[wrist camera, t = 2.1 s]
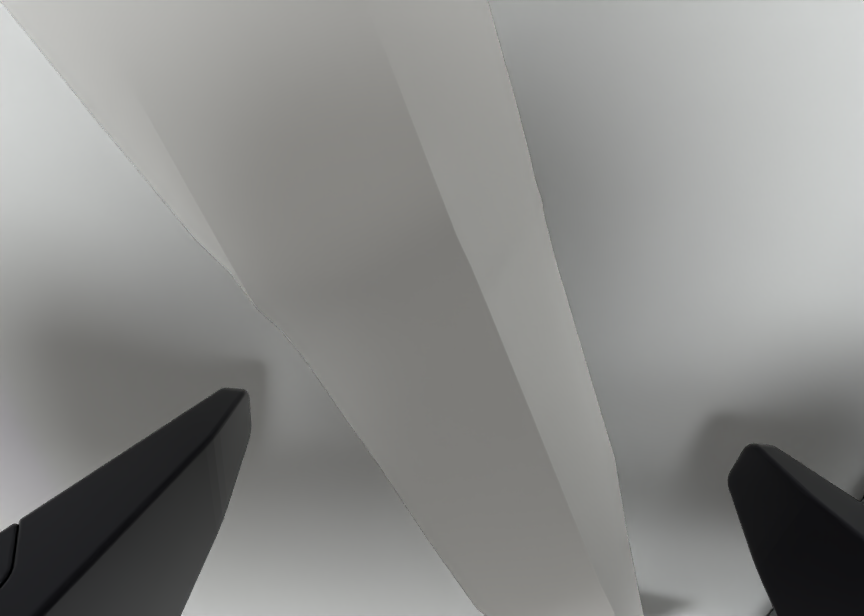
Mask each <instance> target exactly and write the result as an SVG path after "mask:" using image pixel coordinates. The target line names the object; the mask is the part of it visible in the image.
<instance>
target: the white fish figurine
mask: <svg viewBox="0 0 864 616" xmlns="http://www.w3.org/2000/svg"><path fill="white" fill-rule="evenodd" d="M0 1H1V3H2V4H3V5H4V6H5V8H6V9H7V10H8V11H9V13H10V14H11V15H12V16H13V18H14V19H15V20H16V21H17V23H18V24H19V25H20V26H21V28H22V29H23V30H24V31H25V33H26V34H27V35H28V36H29V37H30V39H31V40H32V41H33V42H34V44H35V45H36V46H37V47H38V49H39V50H40V51H41V52H42V54H43V55H44V56H45V57H46V59H47V60H48V61H49V62H50V64H51V65H52V66H53V67H54V69H55V70H56V71H57V72H58V74H59V75H60V76H61V77H62V79H63V80H64V81H65V82H66V84H67V85H68V86H69V87H70V88H71V90H72V91H73V92H74V93H75V95H76V96H77V97H78V98H79V100H80V101H81V102H82V103H83V105H84V106H85V107H86V108H87V110H88V111H89V112H90V113H91V115H92V116H93V117H94V118H95V119H96V121H97V122H98V123H99V124H100V126H101V127H102V128H103V129H104V130H105V132H106V133H107V134H108V135H109V136H110V138H111V139H112V140H113V141H114V142H115V144H116V145H117V146H118V147H119V148H120V150H121V151H122V152H123V153H124V154H125V156H126V157H127V158H128V159H129V160H130V162H131V163H132V164H133V165H134V166H135V168H136V169H137V170H138V171H139V173H140V174H141V175H142V176H143V177H144V179H145V180H146V181H147V182H148V183H149V185H150V186H151V187H152V188H153V189H154V191H155V192H156V193H157V194H158V195H159V197H160V198H161V199H162V200H163V201H164V203H165V204H166V205H167V206H168V207H169V209H170V210H171V211H172V212H173V214H174V215H175V216H176V217H177V218H178V220H179V221H180V222H181V223H182V224H183V226H184V227H185V228H186V229H187V230H188V232H189V233H190V234H191V235H192V236H193V238H194V239H195V240H196V241H197V242H198V243H199V244H200V245H201V246H202V247H203V248H204V249H205V250H207V251H208V252H209V253H210V254H211V255H212V256H213V257H214V258H215V259H216V260H217V261H218V262H219V263H220V264H221V265H222V266H223V267H224V268H225V269H226V270H227V271H228V272H230V273H231V275H232V276H233V278H234V279H235V280H236V282H237V283H238V284H239V286H240V287H241V288H242V290H243V291H244V292H245V294H246V295H247V296H248V298H249V299H250V300H251V302H252V303H253V304H254V306H255V307H256V308H257V309H258V310H259V311H260V312H261V313H262V314H263V315H264V316H265V317H266V318H268V319H269V320H270V321H271V322H272V323H273V324H274V325H275V326H276V327H278V328H279V329H280V330H281V332H282V333H283V334H284V335H285V336H286V338H287V339H288V340H289V341H290V342H291V343H292V345H293V346H294V347H295V348H296V349H297V351H298V352H299V353H300V355H301V356H302V357H303V359H304V360H305V361H306V363H307V364H308V365H309V367H310V368H311V369H312V371H313V372H314V374H315V375H316V377H317V378H318V380H319V381H320V382H321V384H322V385H323V387H324V388H325V390H326V391H327V393H328V394H329V396H330V397H331V398H332V400H333V401H334V403H335V404H336V406H337V407H338V409H339V410H340V412H341V413H342V414H343V416H344V417H345V419H346V420H347V422H348V423H349V425H350V426H351V427H352V429H353V430H354V432H355V433H356V434H357V436H358V437H359V439H360V440H361V441H362V443H363V444H364V446H365V447H366V448H367V450H368V451H369V452H370V454H371V455H372V457H373V458H374V459H375V461H376V462H377V464H378V465H379V467H380V468H381V470H382V471H383V473H384V474H385V476H386V477H387V479H388V480H389V482H390V483H391V485H392V486H393V488H394V489H395V491H396V492H397V494H398V495H399V497H400V498H401V500H402V501H403V503H404V504H405V506H406V507H407V509H408V511H409V512H410V514H411V515H412V517H413V518H414V520H415V521H416V523H417V524H418V526H419V527H420V529H421V530H422V532H423V533H424V535H425V536H426V538H427V539H428V541H429V542H430V544H431V545H432V546H433V548H434V549H435V551H436V552H437V553H438V555H439V556H440V558H441V559H442V560H443V562H444V563H445V565H446V566H447V568H448V569H449V570H450V572H451V573H452V575H453V576H454V577H455V579H456V580H457V582H458V583H459V584H460V586H461V587H462V589H463V590H464V591H465V593H466V594H467V596H468V597H469V599H470V600H471V601H472V603H473V604H474V606H475V607H476V608H477V609H478V610H479V611H480V612H482V613H483V614H484V615H486V616H644V614H643V609H642V604H641V599H640V594H639V589H638V584H637V579H636V574H635V569H634V564H633V559H632V554H631V549H630V544H629V539H628V534H627V528H626V522H625V516H624V510H623V504H622V498H621V492H620V486H619V480H618V474H617V468H616V462H615V457H614V454H613V450H612V447H611V444H610V440H609V437H608V434H607V430H606V427H605V424H604V420H603V417H602V414H601V410H600V407H599V404H598V400H597V397H596V394H595V390H594V387H593V384H592V380H591V377H590V374H589V370H588V367H587V364H586V360H585V357H584V354H583V350H582V347H581V343H580V340H579V337H578V333H577V330H576V327H575V323H574V320H573V317H572V313H571V310H570V307H569V303H568V300H567V297H566V293H565V290H564V286H563V283H562V280H561V276H560V273H559V270H558V266H557V263H556V259H555V255H554V251H553V247H552V243H551V239H550V236H549V232H548V228H547V224H546V220H545V216H544V210H543V203H542V199H541V196H540V193H539V190H538V187H537V184H536V181H535V176H534V172H533V167H532V163H531V158H530V154H529V150H528V146H527V142H526V138H525V134H524V130H523V126H522V123H521V119H520V115H519V111H518V107H517V103H516V100H515V96H514V92H513V89H512V85H511V82H510V78H509V75H508V71H507V67H506V64H505V60H504V57H503V53H502V50H501V46H500V42H499V39H498V35H497V32H496V28H495V24H494V21H493V17H492V14H491V10H490V7H489V3H488V0H0Z"/></svg>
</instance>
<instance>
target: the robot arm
mask: <svg viewBox="0 0 864 616" xmlns="http://www.w3.org/2000/svg"><path fill="white" fill-rule="evenodd" d="M250 433H251V415H250V400H249V394H248V392H247V391H246V390H244V389H235V388H222V389H220V390H218V391H217V392H215V393H214V394H212V395H211V396H209V397H208V398H206V399H204V400H203V401H201V402H200V403H198V404H197V405H195V406H194V407H192V408H191V409H189V410H188V411H186V412H184V413H183V414H181V415H180V416H178V417H177V418H175V419H174V420H172V421H171V422H169V423H168V424H166V425H165V426H163V427H161V428H160V429H158V430H157V431H155V432H154V433H152V434H151V435H149V436H148V437H146V438H145V439H143V440H141V441H140V442H138V443H137V444H135V445H134V446H132V447H131V448H129V449H128V450H126V451H125V452H123V453H122V454H120V455H118V456H117V457H115V458H114V459H112V460H111V461H109V462H108V463H106V464H105V465H103V466H102V467H100V468H98V469H97V470H95V471H94V472H92V473H91V474H89V475H88V476H86V477H85V478H83V479H82V480H80V481H79V482H77V483H75V484H74V485H72V486H71V487H69V488H68V489H66V490H65V491H63V492H62V493H60V494H59V495H57V496H55V497H54V498H52V499H51V500H49V501H48V502H46V503H45V504H43V505H42V506H40V507H39V508H37V509H36V510H34V511H32V512H31V513H29V514H28V515H26V516H25V517H23V518H22V519H21V520H20V521H19V525H18V524H12V525H11V526H9V527H8V528H6V529H4V530H3V531H1V532H0V616H181V614H182V612H183V609H184V607H185V605H186V603H187V600H188V598H189V596H190V594H191V592H192V589H193V587H194V585H195V583H196V580H197V578H198V576H199V574H200V572H201V569H202V567H203V565H204V563H205V560H206V558H207V556H208V554H209V551H210V549H211V547H212V545H213V543H214V540H215V538H216V536H217V534H218V531H219V529H220V526H221V524H222V522H223V519H224V516H225V513H226V510H227V507H228V504H229V501H230V498H231V495H232V491H233V488H234V485H235V482H236V479H237V476H238V473H239V470H240V466H241V463H242V460H243V457H244V454H245V451H246V448H247V444H248V441H249V438H250ZM728 487H729V491H730V494H731V497H732V499H733V502H734V505H735V508H736V511H737V514H738V517H739V520H740V523H741V526H742V529H743V532H744V535H745V538H746V541H747V544H748V546H749V549H750V552H751V555H752V558H753V561H754V563H755V566H756V569H757V571H758V574H759V576H760V579H761V581H762V583H763V586H764V588H765V590H766V592H767V594H768V597H769V599H770V601H771V603H772V606H773V608H774V610H775V612H776V615H777V616H864V504H863V503H861V502H859V501H858V500H856V499H855V498H853V497H852V496H850V495H849V494H847V493H846V492H844V491H843V490H841V489H840V488H838V487H836V486H835V485H833V484H832V483H830V482H829V481H827V480H826V479H824V478H823V477H821V476H820V475H818V474H817V473H815V472H813V471H812V470H810V469H809V468H807V467H806V466H804V465H803V464H801V463H800V462H798V461H797V460H795V459H794V458H792V457H790V456H789V455H787V454H786V453H784V452H783V451H781V450H780V449H778V448H776V447H774V446H771V445H764V444H749V445H747V446H746V447H745V448H744V449H743V451H742V453H741V454H740V456H739V458H738V460H737V461H736V463H735V465H734V466H733V468H732V470H731V471H730V473H729V476H728Z"/></svg>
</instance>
